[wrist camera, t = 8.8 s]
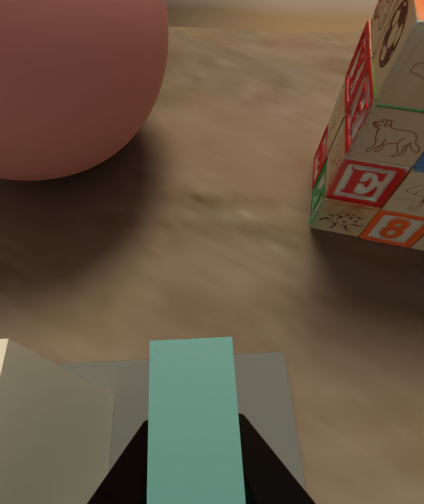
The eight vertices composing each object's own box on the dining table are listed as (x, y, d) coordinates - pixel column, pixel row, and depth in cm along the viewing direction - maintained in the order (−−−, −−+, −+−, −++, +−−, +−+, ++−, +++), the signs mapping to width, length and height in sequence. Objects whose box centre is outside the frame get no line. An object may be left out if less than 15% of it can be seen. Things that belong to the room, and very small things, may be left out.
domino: (113, 394, 16) (8, 338, 7) (104, 532, 13) (-75, 711, 5) (78, 396, 16) (-75, 343, 7) (62, 536, 13) (-205, 728, 4)
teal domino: (211, 382, 16) (231, 336, 7) (219, 516, 14) (263, 712, 5) (176, 384, 16) (150, 340, 7) (178, 519, 13) (142, 728, 4)
